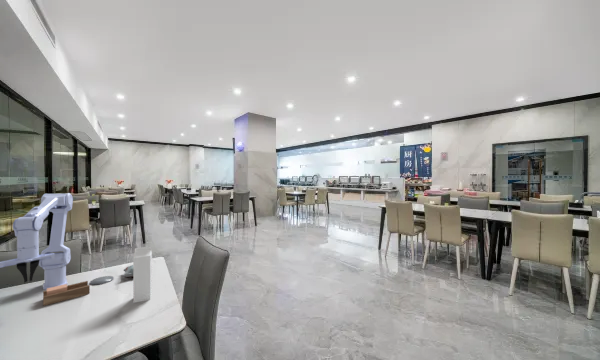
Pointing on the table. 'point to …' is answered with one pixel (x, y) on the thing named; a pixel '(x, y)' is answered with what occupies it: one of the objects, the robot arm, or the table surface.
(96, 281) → the coaster
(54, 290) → the block
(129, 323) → the table surface
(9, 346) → the table surface
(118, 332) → the table surface
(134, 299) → the milk
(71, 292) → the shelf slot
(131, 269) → the packaged food
